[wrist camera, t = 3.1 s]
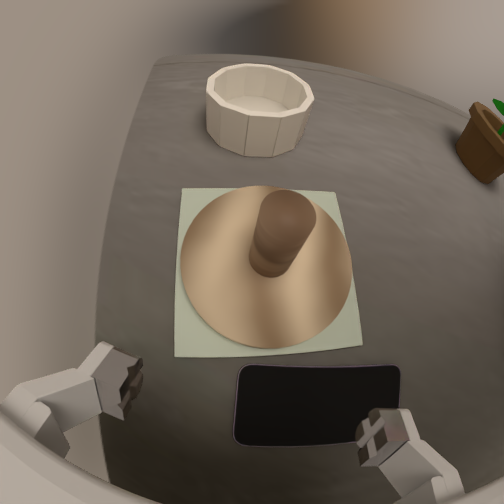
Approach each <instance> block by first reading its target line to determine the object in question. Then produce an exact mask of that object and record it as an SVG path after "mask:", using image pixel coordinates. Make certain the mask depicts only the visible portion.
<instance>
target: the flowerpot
mask: <svg viewBox="0 0 504 504" xmlns="http://www.w3.org/2000/svg"><path fill="white" fill-rule="evenodd" d="M493 103H494V104H495V106H496V108H497V109H498V110H499V111H500V113H501V114H502V115H504V103H503V102H501V101H499V100H496V99H493ZM469 112H470V115H471V118H470V120H469V122H468V124H467V126H466V127H465V129H464V131H463V133H462V135H461V136H460V138H459V140H458V142H457V143H456V150H457V154H458V155H459V157H460V159H461V161H462V162H463V164H464V165H465V166H466V168H467V169H468V170H469V171H470V172H471V174H472V175H473V176H475V177H476V178H477V179H478V180H479V181H481V182H483V183H486V184H489V183H490V182H491V181H493V180H494V179H496V178H497V177H499V176H500V175H501V174H503V173H504V123H503V122H502V121H501V120H500V118H498V117H497V116H496V115H495V114H494V113H493V112H492V111H491V110H490V109H489V108H487V107H486V106H484V105H483V104H481V103H479V102H475V103H473V105H472V106H471V108H470V109H469Z"/></svg>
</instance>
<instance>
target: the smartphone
mask: <svg viewBox="0 0 504 504" xmlns="http://www.w3.org/2000/svg"><path fill="white" fill-rule="evenodd" d="M400 391H401V371H400V368H399V367H398V366H397V365H395V364H384V365H377V364H376V365H357V366H284V365H266V364H247V365H245V366H243V367H242V368H241V369H240V371H239V373H238V378H237V389H236V400H235V411H234V423H233V438H234V440H235V441H236V442H237V443H238V444H240V445H243V446H252V447H310V446H325V445H337V444H346V443H354V442H356V439H355V434H356V430H357V427H358V425H359V424H360V423H361V422H362V421H363V420H365V419H367V418H368V413H369V412H370V411H371V410H372V409H374V408H392V409H399V406H400Z"/></svg>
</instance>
